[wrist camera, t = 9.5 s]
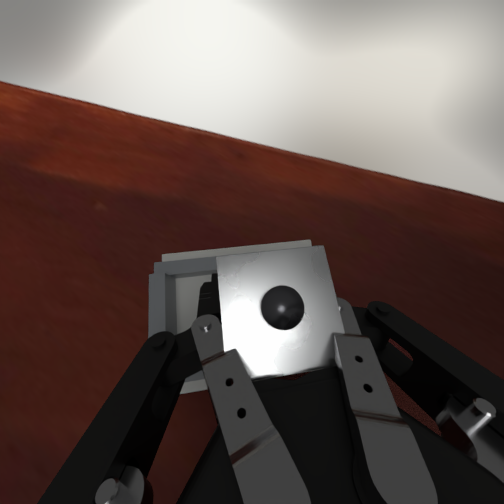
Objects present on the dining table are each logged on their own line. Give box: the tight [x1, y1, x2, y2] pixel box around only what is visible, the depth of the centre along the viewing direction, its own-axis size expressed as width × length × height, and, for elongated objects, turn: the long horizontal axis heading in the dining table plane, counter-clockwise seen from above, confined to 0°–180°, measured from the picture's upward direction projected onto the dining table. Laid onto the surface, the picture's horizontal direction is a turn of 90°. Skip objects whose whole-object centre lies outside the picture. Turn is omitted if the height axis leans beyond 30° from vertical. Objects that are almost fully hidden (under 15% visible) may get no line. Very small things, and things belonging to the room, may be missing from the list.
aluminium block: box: [216, 246, 345, 381], centre depth 12 cm, size 5×5×10 cm
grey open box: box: [148, 240, 321, 394], centre depth 18 cm, size 15×12×4 cm
